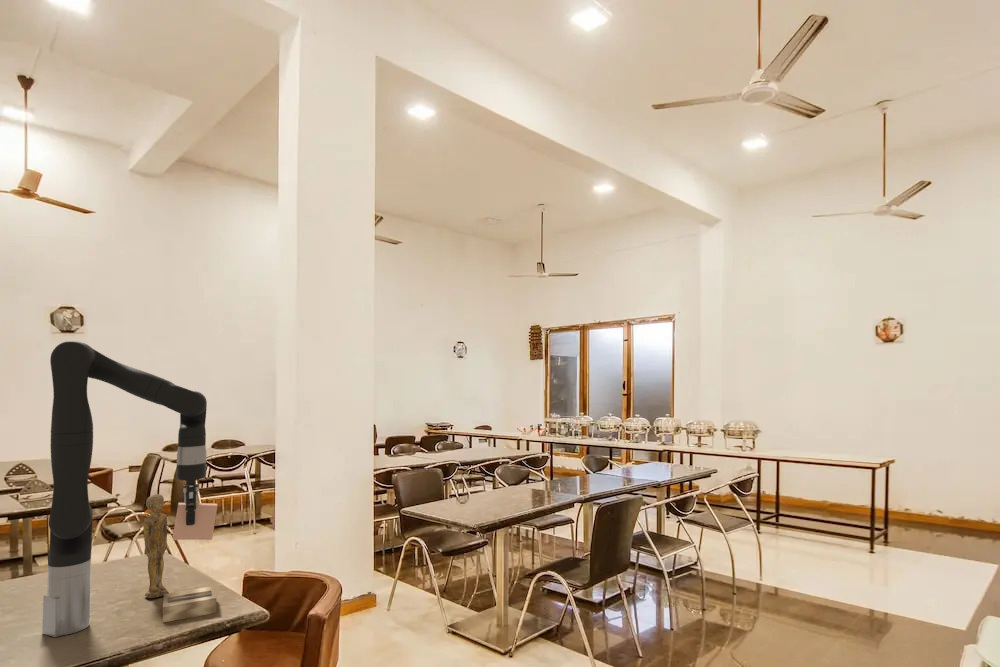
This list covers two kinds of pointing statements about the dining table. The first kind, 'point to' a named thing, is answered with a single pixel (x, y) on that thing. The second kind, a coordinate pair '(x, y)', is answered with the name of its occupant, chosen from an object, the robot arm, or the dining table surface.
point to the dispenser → (189, 603)
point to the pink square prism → (202, 525)
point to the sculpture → (155, 544)
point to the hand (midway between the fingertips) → (190, 523)
